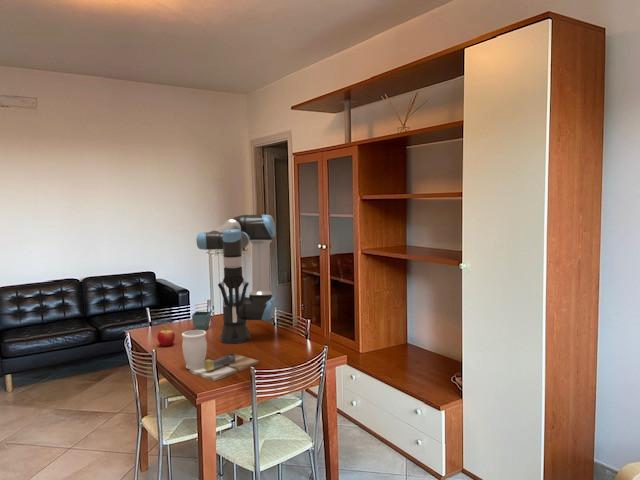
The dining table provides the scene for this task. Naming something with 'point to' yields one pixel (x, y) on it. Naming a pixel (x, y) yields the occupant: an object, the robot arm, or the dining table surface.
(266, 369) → the dining table surface
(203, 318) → the flower pot
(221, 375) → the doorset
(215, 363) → the latch bar
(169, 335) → the apple
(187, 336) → the jar
